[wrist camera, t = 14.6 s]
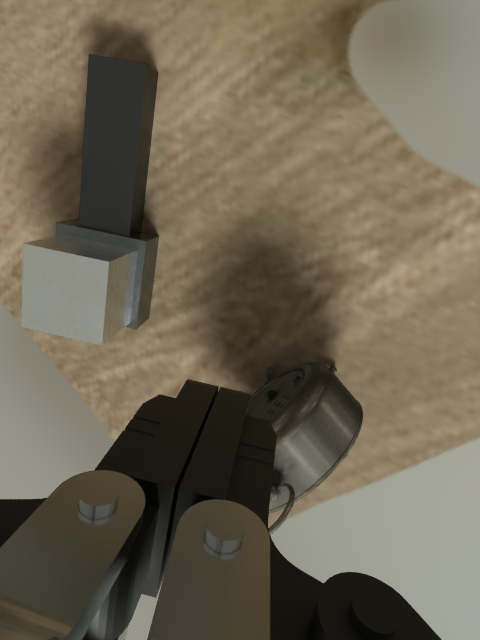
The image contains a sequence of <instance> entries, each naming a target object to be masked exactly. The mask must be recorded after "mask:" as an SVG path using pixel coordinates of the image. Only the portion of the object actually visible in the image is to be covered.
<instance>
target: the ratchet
mask: <svg viewBox="0 0 480 640" xmlns="http://www.w3.org/2000/svg"><path fill="white" fill-rule="evenodd" d="M157 80H158V72H156V71H155V70H153V69H152V68H151V67H149V66H148V65H147V64H143V63H137V62H131V61H126V60H120V59H115V58H109V57H103V56H98V55H92V54H89V61H88V78H87V95H86V112H85V128H84V145H83V162H82V178H81V195H80V212H79V220H78V219H74V220H68V221H62V222H56V236H59V235H63V234H64V235H69V236H74V237H78V238H83V239H88V240H93V241H97V242H102V243H107V244H111V245H116V246H121V247H126V248H130V249H135V250H138V252H137V262H136V271H135V281H134V290H133V300H132V309H131V319H130V323H129V324H128V325H127V326H125V327H128V328H133V329H137V328H138V327H140V326H141V325H142V324H143V323H144V322H145V321H146V320H147V319H149V314H150V306H151V298H152V290H153V282H154V273H155V265H156V257H157V249H158V241H159V236H154V235H149V234H145V233H141V229H142V220H143V210H144V201H145V192H146V183H147V173H148V164H149V155H150V145H151V136H152V127H153V117H154V108H155V99H156V89H157Z"/></svg>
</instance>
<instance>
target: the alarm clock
mask: <svg viewBox="0 0 480 640" xmlns="http://www.w3.org/2000/svg"><path fill="white" fill-rule="evenodd" d="M336 372H337V369H336V367H334V366H332V367H330V369H329V368H328V367H327V366H325V365H324V364H320V363H304V364H301V365H298V366H295V367H293V368H290V369H289V370H287V371H285V372H283V373H281V374H280V375H278V376H277V377H275V375H274V371H273V369H271V368H268V369H267V371H266V375H267V382H266V383H265V385H264V386H262V387H261V388H260V389H259V390H258V391H256V392H255V393H254V394H253V395H252V396H251V397H250V402H249V407H248V411H247V415H248V416H252V417H256V418H260V419H264V420H269V421H270V423H271V425H272V427H273V429H274V431H275V433H276V435H277V439H276V449H275V458H274V466H273V477H272V486H271V496H270V505H269V513H272V512H276V511H278V510H281V509H284V508H285V509H284V511H283V513H282V514H281V516H280V517H279V518H278V520H277V521H276V522H275V523H274V524H273V525H272V526H271V527H270V528H269V534H270V535H271V534H273V532H275V531H276V530H277V529H278V528H279V527H280V526H281V524H282V523H283V522H284V521H285V520H286V518H287V517H288V515H289V513H290V512H291V509H292V507H293V504H294V503H295V502H297V501H298V500H300V499H301V498H303V497H304V496H306V495H307V494H309V493H310V492H311V491H312V490H314V489H315V488H316V487H317V486H319V485H320V484H321V483H322V482H323V481H324V480H325V479H326V478H327V477H328V476H329V475H330V474H331V473H332V472H333V471H334V470H335V469H336V468H337V467H338V466H339V465H340V464H341V463H342V461H343V460H344V459H345V457H346V456H347V454H348V453H349V452H350V450H351V448H352V446H353V445H354V443H355V441H356V439H357V437H358V434H359V432H360V429H361V425H362V420H363V411H362V407H361V405H360V403H359V402H358V401H357V400H356V399H355V398H354V397H353V396H352V394H351V393H350V392H349V391H348V390H347V389H346V387H345V386H344V385H343V384H342V383H341V381H340V380H339V379H338V378H337V377H336V375H335V374H334V373H336Z"/></svg>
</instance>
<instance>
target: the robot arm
mask: <svg viewBox="0 0 480 640" xmlns="http://www.w3.org/2000/svg"><path fill="white" fill-rule="evenodd" d="M250 397H251V394H249V393H245V392H240V391H236V390H232V389H228V388H223V387H220V389H219V392H218V386H215V385H210V384H206V383H202V382H198V381H193V380H189V379H188V380H187V381H186V382H185V384H184V386H183V387H182V389H181V391H180V392H179V394H178V396H177V398H172V397H168V396H164V395H158V396H156V397H154V398H152V399H151V400H149V401H147V402H145V403H143V404H142V406H141V407H140V408H139V410H138V411H137V413H136V414H135V415H134V417H133V419H131V421H130V422H129V424H128V425H127V426H126V428H125V431H123V432H122V433H121V434H120V436H119V437H118V439H117V440H116V441H115V443H114V444H113V446H112V447H111V448H110V450H109V451H108V452H107V454H106V455H105V456H104V458H103V459H102V461H101V462H100V463H99V465H98V466H97V467H96V469H95V470H94V471H88V472H84V473H81V474H78V475H75V476H73V477H71V478H69V479H67V480H66V481H64V482H63V483H62V484H60V485H59V486H58V487H57V488H56V489H55V490H54V491H53V492H52V493H51V495H50V496H49V497H48V498H43V499H14V500H13V499H6V500H5V499H3V500H2V499H0V640H125V638H126V633H127V628H128V625H129V623H130V621H131V619H132V616H133V614H134V611H135V609H136V606H137V604H138V601H139V598H140V596H141V594H144V595H148V596H152V597H155V598H156V597H157V594H158V591H159V588H160V585H161V582H162V580H163V582H162V586H161V590H160V593H159V597H158V601H157V605H156V609H155V612H154V616H153V620H152V624H151V627H150V631H149V635H148V639H147V640H441V639H440V638H439V636H438V635H437V634H436V633H435V632H434V631H433V630H432V629H431V628H430V627H429V625H428V624H427V623H426V622H425V621H424V620H423V619H422V618H421V616H420V615H419V614H418V613H417V612H416V611H415V610H414V609H413V608H412V607H411V605H410V604H409V603H408V602H407V601H406V600H405V599H404V598H403V597H402V596H401V595H400V594H399V593H398V592H396V591H395V590H394V589H393V588H392V587H390V586H388V585H387V584H385V583H384V582H382V581H380V580H378V579H376V578H374V577H372V576H369V575H366V574H361V573H356V572H345V573H340V574H337V575H334V576H333V577H331V578H329V579H328V580H327V581H326V582H325V583H322V582H320V581H318V580H317V579H315V578H313V577H312V576H310V575H308V574H306V573H304V572H303V571H301V570H300V569H298V568H297V567H295V566H294V565H292V564H291V563H290V562H289V561H288V560H287V559H286V558H285V557H284V556H282V554H281V553H280V552H279V551H278V549H277V548H276V546H275V545H274V543H273V541H272V539H271V537H270V534H269V529H268V515H269V505H270V496H271V486H272V477H273V466H274V458H275V449H276V439H277V435H276V433H275V431H274V429H273V427H272V425H271V423H270V421H269V420H264V419H260V418H256V417H252V416H248V415H247V411H248V407H249V402H250ZM163 577H164V578H163Z"/></svg>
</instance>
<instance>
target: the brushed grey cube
mask: <svg viewBox="0 0 480 640" xmlns="http://www.w3.org/2000/svg"><path fill="white" fill-rule="evenodd" d="M137 252H138V250H135V249H130V248H126V247H121V246H116V245H111V244H107V243H102V242H97V241H93V240H88V239H83V238H78V237H74V236H69V235H64V234H63V235H59V236H54V237H50V238H45V239H41V240H36V241H32V242H27V243H23V280H22V327H24V328H29V329H33V330H37V331H42V332H46V333H50V334H55V335H59V336H63V337H68V338H72V339H76V340H81V341H85V342H89V343H94V344H98V345H103V344H104V343H106V342H107V341H108V340H109V339H111V338H112V337H113V336H114V335H116V334H117V333H118V332H119V331H120V330H122V329H123V328H124V327H125V326H127V325H128V324H129V323H130V319H131V309H132V300H133V290H134V281H135V271H136V262H137Z"/></svg>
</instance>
